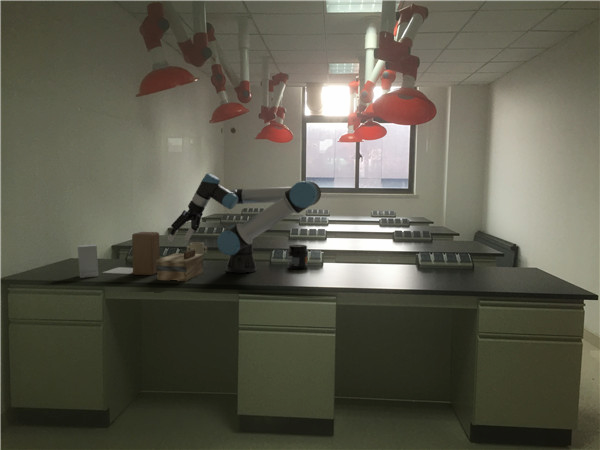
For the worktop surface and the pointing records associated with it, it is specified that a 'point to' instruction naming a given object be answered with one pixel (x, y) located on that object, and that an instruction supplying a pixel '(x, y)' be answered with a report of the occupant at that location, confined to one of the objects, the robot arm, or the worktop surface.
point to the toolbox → (179, 270)
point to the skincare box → (88, 260)
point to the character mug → (197, 247)
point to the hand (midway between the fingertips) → (178, 240)
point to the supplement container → (297, 257)
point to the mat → (120, 271)
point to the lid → (181, 257)
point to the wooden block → (145, 252)
